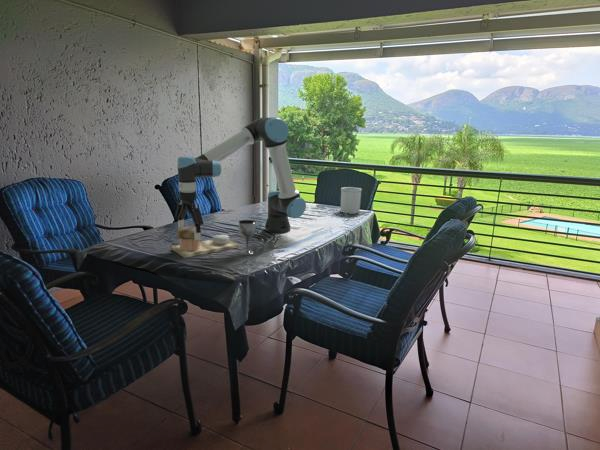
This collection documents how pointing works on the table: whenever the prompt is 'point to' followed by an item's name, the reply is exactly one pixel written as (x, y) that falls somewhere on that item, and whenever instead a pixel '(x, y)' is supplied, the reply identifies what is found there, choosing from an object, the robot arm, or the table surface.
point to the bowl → (189, 244)
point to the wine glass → (247, 233)
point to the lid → (186, 233)
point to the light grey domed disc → (221, 239)
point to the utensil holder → (350, 200)
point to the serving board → (205, 248)
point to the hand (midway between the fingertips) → (189, 236)
